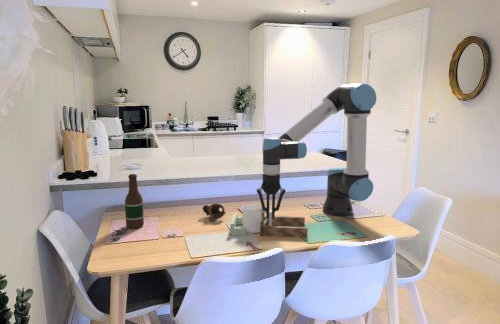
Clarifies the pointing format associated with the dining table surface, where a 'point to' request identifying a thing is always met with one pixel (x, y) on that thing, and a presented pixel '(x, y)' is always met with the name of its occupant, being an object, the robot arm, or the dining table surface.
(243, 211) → the mug
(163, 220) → the dining table surface
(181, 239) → the dining table surface
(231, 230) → the end stop
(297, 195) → the dining table surface
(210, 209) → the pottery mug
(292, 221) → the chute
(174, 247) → the dining table surface
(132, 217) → the beer bottle
